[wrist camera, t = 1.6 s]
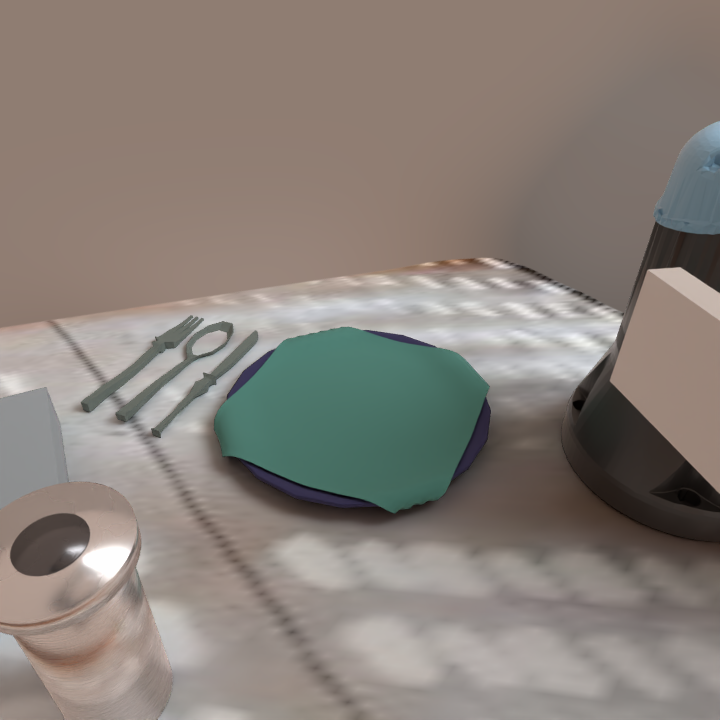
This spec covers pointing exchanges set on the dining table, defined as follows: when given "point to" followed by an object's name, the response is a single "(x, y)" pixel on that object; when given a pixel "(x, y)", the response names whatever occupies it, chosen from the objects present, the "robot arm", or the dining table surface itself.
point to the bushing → (82, 602)
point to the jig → (29, 445)
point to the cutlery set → (337, 414)
